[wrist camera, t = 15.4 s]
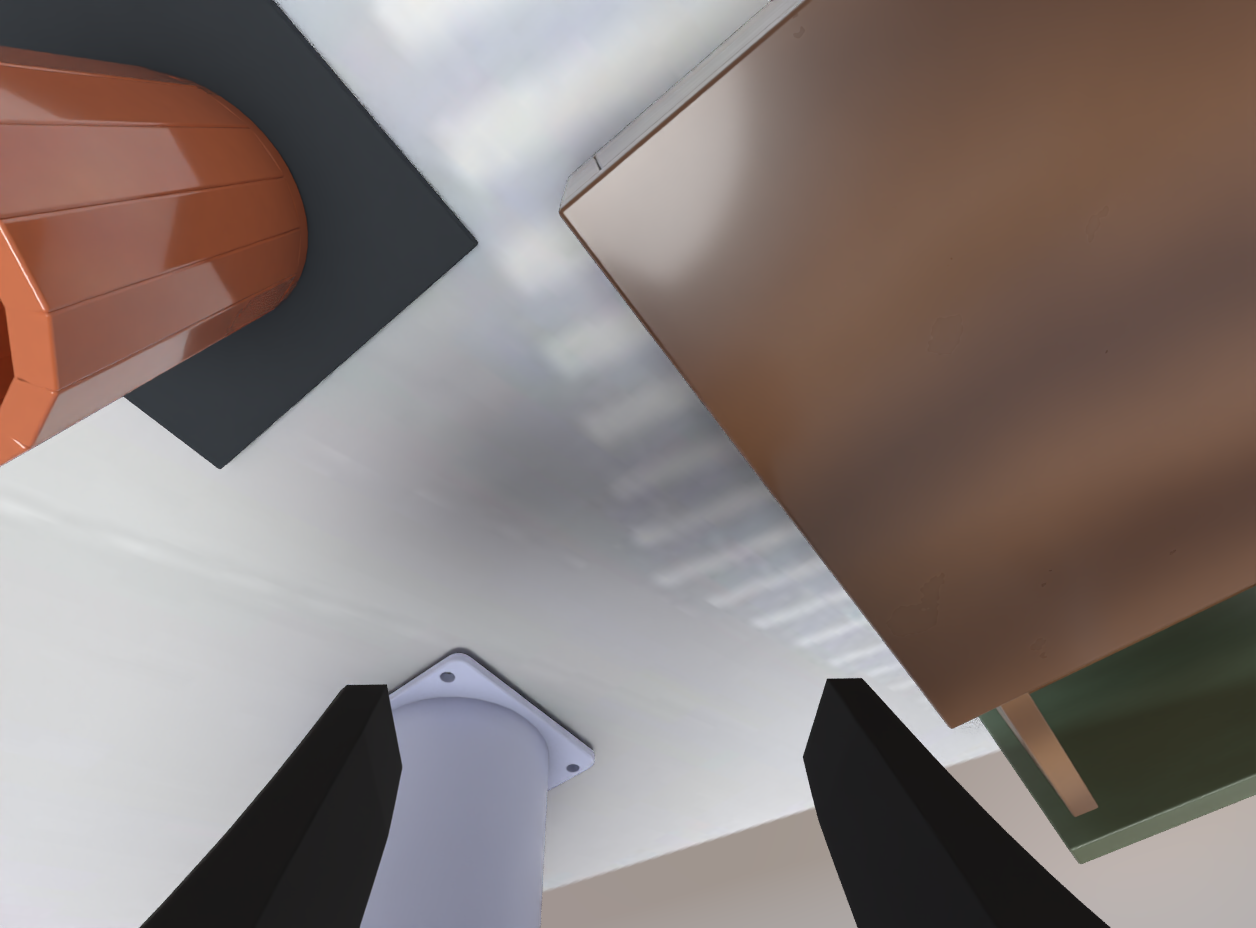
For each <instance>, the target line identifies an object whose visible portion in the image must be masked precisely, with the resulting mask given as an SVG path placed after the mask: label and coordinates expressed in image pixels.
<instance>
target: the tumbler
mask: <svg viewBox="0 0 1256 928" xmlns="http://www.w3.org/2000/svg"><path fill="white" fill-rule="evenodd" d="M307 248H308V230H307V221H306V215H305V210H304V206H303V202H302V199H301V196H300V193H299V190H298V188H297V185H296V183H295V181H294V179H293V177H292V175H291V173H290V170H289V168H288V167H287V165H286V163H285V162H284V160H283V159H282V157H281V155H280V154H279V152H278V151H277V150H276V148H275V147H274V146H273V144H272V143H271V142H270V140H269V139H268V138H267V137H266V135H265V134H264V133H263V132H262V131H261V130H260V129H259V128H258V127H257V126H256V125H255V124H254V123H253V122H252V121H251V120H250V119H249V118H248V117H247V116H246V115H244V114H243V113H242V112H241V111H240V110H239V109H237V108H236V107H235V106H233V105H232V104H231V103H229V102H228V101H226V100H225V99H223V98H222V97H221V96H219V95H217V94H215V93H214V92H212V91H210V90H208V89H207V88H205V87H203V86H201V85H198V84H196V83H194V82H191V81H189V80H187V79H184V78H181V77H177V76H174V75H170V74H167V73H162V72H156V71H153V70H150V69H147V68H144V67H139V66H133V65H126V64H119V63H113V62H106V61H99V60H92V59H86V58H79V57H72V56H66V55H59V54H52V53H46V52H39V51H32V50H26V49H19V48H12V47H6V46H0V467H1V466H3V465H4V464H6V463H8V462H10V461H11V460H13V459H15V458H17V457H19V456H20V455H22V454H24V453H26V452H27V451H29V450H31V449H33V448H34V447H36V446H38V445H40V444H41V443H43V442H45V441H47V440H48V439H50V438H52V437H53V436H55V435H57V434H59V433H60V432H62V431H64V430H66V429H67V428H69V427H71V426H73V425H74V424H76V423H78V422H80V421H81V420H83V419H85V418H86V417H88V416H90V415H92V414H93V413H95V412H97V411H99V410H100V409H102V408H104V407H106V406H107V405H109V404H111V403H113V402H114V401H116V400H118V399H119V398H121V397H123V396H125V395H126V394H128V393H130V392H132V391H133V390H135V389H137V388H139V387H140V386H142V385H144V384H146V383H147V382H149V381H151V380H152V379H154V378H156V377H158V376H159V375H161V374H163V373H165V372H166V371H168V370H170V369H172V368H173V367H175V366H177V365H179V364H180V363H182V362H184V361H185V360H187V359H189V358H191V357H192V356H194V355H196V354H198V353H199V352H201V351H203V350H205V349H206V348H208V347H210V346H212V345H213V344H215V343H217V342H218V341H220V340H222V339H224V338H225V337H227V336H229V335H231V334H232V333H234V332H236V331H238V330H239V329H241V328H243V327H245V326H246V325H248V324H250V323H251V322H253V321H255V320H257V319H258V318H260V317H262V316H264V315H265V314H267V313H269V312H271V311H272V310H274V308H276V307H277V306H279V305H280V304H281V303H282V302H283V301H284V300H285V299H286V298H287V297H288V296H289V294H290V293H291V292H292V290H293V289H294V288H295V286H296V284H297V282H298V280H299V278H300V276H301V274H302V271H303V267H304V264H305V260H306V254H307Z"/></svg>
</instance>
